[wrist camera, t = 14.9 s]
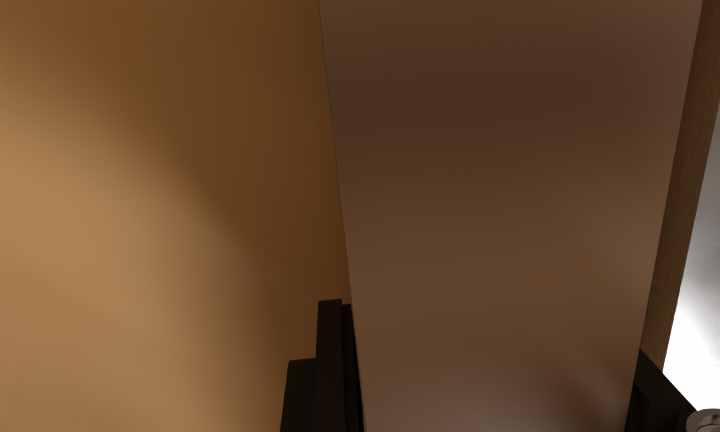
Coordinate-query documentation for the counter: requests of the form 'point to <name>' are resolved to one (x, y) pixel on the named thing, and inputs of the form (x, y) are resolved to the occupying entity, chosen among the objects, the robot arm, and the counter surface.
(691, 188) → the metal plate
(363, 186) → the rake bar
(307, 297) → the counter surface
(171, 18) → the counter surface
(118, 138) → the counter surface
